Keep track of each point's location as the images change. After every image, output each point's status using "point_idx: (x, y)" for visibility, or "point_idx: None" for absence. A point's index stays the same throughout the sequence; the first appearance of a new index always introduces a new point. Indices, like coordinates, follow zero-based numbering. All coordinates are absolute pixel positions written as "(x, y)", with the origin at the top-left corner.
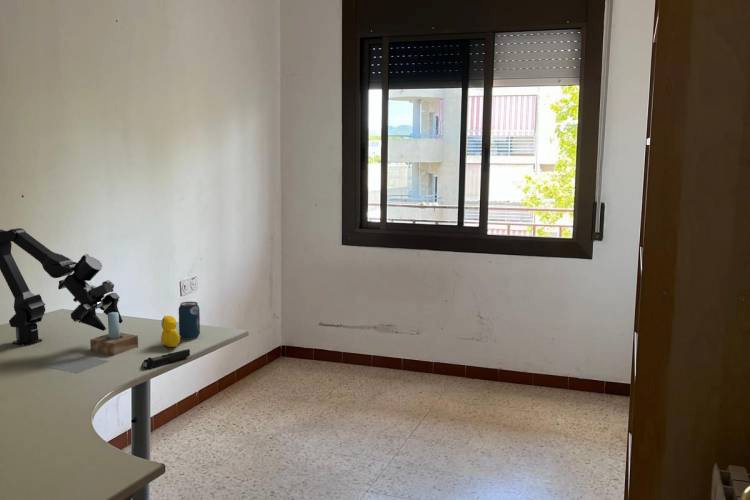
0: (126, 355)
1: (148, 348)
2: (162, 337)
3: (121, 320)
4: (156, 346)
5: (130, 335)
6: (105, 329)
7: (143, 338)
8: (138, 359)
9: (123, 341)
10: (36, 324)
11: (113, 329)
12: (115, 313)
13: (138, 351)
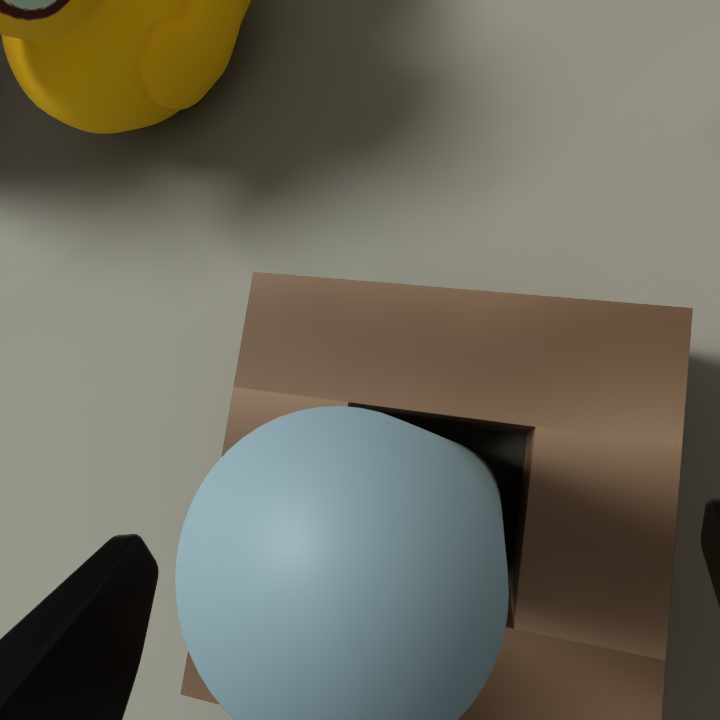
0: (573, 245)
1: (298, 199)
2: (181, 41)
3: (125, 549)
4: (222, 173)
5: (273, 362)
6: (708, 510)
7: (32, 455)
8: (639, 51)
9: (506, 295)
10: None
11: (484, 472)
12: (319, 495)
13: (412, 223)
